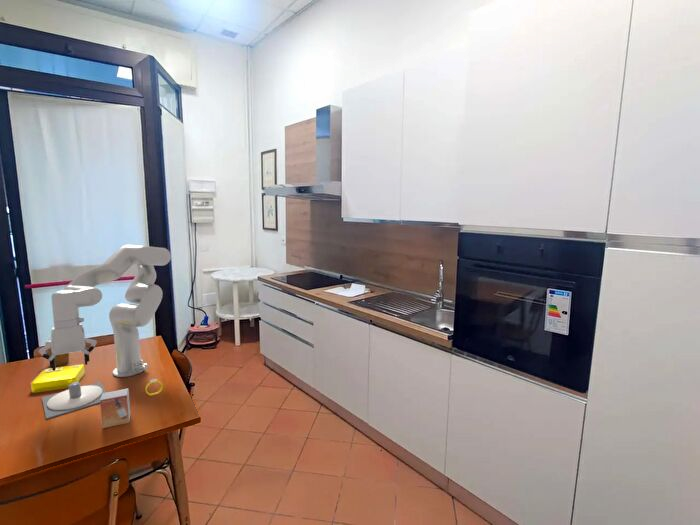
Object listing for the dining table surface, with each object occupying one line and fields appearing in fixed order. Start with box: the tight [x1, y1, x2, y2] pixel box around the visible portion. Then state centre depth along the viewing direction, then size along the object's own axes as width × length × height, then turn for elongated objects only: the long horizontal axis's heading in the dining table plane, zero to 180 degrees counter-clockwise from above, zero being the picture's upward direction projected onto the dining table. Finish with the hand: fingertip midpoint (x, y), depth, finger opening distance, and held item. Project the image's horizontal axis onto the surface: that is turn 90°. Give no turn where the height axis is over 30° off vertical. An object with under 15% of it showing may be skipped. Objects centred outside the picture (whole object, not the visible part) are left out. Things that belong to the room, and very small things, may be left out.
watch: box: [145, 378, 164, 397], centre depth 142 cm, size 6×3×6 cm, turn 127°
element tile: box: [30, 364, 86, 394], centre depth 151 cm, size 15×15×5 cm
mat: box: [41, 381, 107, 421], centre depth 137 cm, size 19×19×1 cm
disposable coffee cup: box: [44, 337, 70, 366], centre depth 169 cm, size 10×10×12 cm
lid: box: [47, 381, 102, 411], centre depth 137 cm, size 17×17×6 cm
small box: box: [99, 388, 131, 429], centre depth 123 cm, size 8×6×10 cm
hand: (70, 366), depth 135 cm, fingers open, 9 cm apart
